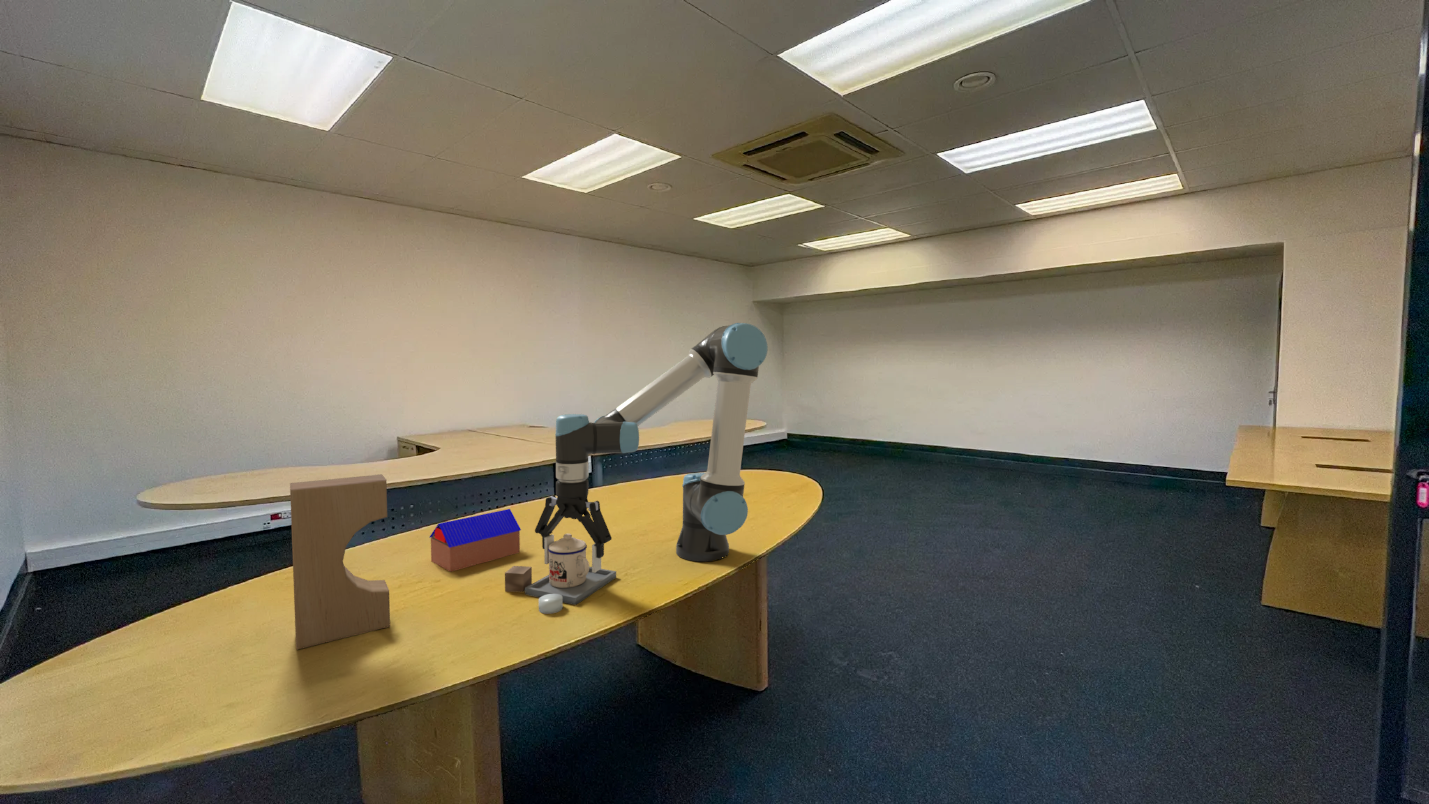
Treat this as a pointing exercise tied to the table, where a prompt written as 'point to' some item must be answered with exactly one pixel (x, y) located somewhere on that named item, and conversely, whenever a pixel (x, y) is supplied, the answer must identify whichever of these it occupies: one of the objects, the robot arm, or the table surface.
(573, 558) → the teacup with lid
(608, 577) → the tray
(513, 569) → the walnut cube
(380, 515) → the decorative block
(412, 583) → the table surface
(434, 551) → the house
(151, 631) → the table surface
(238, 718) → the table surface
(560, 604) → the white egg-shaped dome
